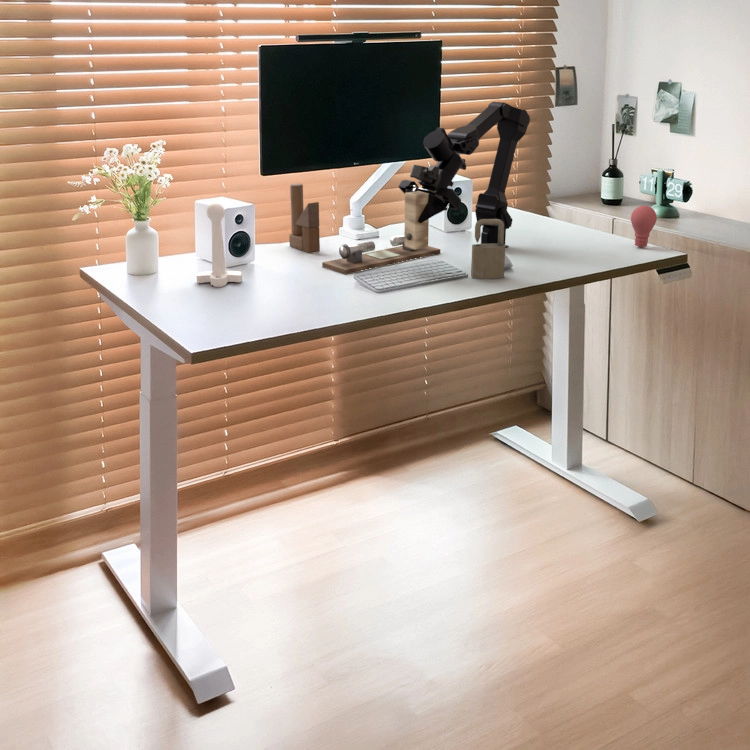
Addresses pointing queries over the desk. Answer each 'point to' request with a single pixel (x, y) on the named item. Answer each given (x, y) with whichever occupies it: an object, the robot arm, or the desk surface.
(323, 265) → the base board
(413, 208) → the tan wood post
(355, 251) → the shafts
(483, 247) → the padlock
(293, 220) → the wooden block
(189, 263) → the desk surface
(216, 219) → the joystick
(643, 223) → the light bulb
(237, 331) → the desk surface
